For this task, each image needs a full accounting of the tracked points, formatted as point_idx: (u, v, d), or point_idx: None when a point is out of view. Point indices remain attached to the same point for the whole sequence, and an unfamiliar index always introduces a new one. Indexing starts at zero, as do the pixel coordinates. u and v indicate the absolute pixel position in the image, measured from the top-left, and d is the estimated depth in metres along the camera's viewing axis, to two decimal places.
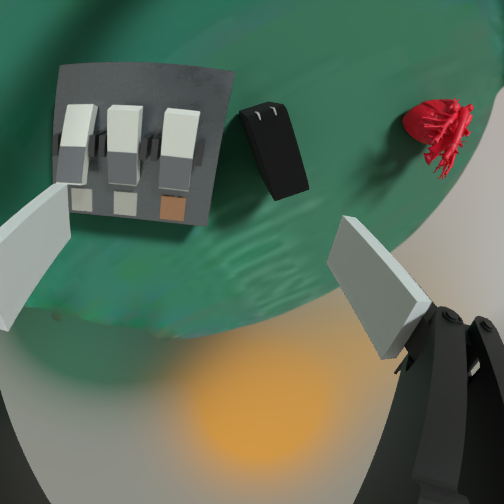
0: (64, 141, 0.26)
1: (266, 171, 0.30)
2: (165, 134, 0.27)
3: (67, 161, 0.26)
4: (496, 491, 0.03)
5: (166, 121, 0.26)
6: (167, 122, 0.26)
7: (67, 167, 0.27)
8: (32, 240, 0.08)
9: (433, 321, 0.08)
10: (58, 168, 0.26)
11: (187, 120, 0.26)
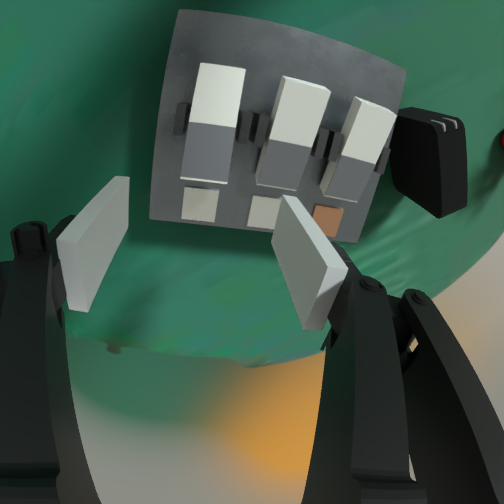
0: (197, 115, 0.19)
1: (441, 187, 0.23)
2: (355, 129, 0.20)
3: (203, 146, 0.20)
4: (465, 481, 0.03)
5: (360, 113, 0.19)
6: (361, 114, 0.20)
7: (204, 155, 0.20)
8: (107, 226, 0.10)
9: (350, 292, 0.08)
10: (186, 155, 0.20)
11: (384, 117, 0.20)
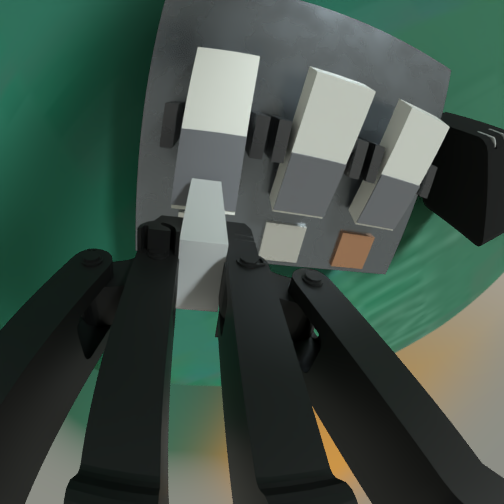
0: (192, 119, 0.14)
1: (486, 212, 0.18)
2: (401, 142, 0.15)
3: (201, 162, 0.15)
4: (413, 483, 0.04)
5: (409, 122, 0.14)
6: (410, 124, 0.14)
7: (202, 175, 0.15)
8: None
9: (227, 274, 0.08)
10: (178, 176, 0.14)
11: (435, 128, 0.14)
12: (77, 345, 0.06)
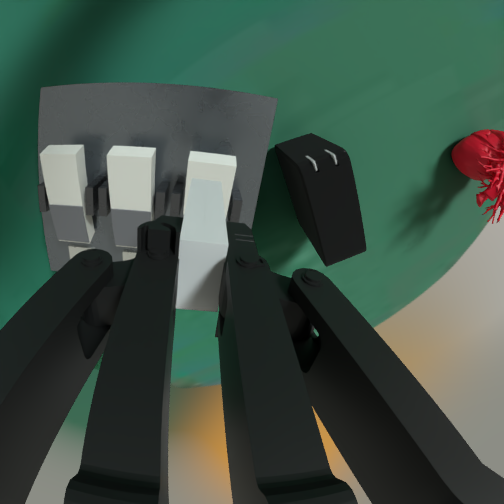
0: (52, 199, 0.20)
1: (320, 234, 0.24)
2: None
3: (64, 221, 0.22)
4: (413, 482, 0.04)
5: (190, 172, 0.20)
6: (192, 173, 0.20)
7: (67, 227, 0.22)
8: None
9: (227, 274, 0.08)
10: (56, 227, 0.22)
11: (220, 171, 0.20)
12: (77, 344, 0.06)
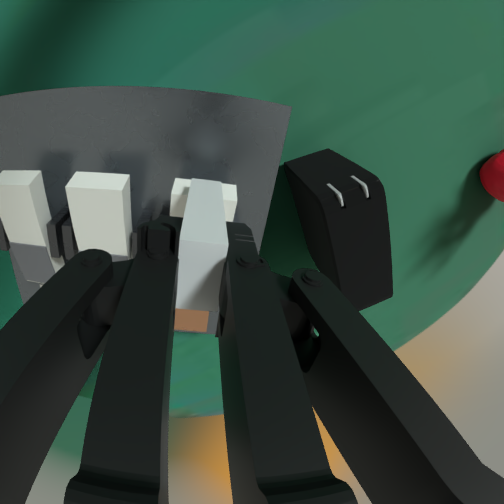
0: (12, 236, 0.15)
1: (340, 283, 0.19)
2: None
3: (29, 261, 0.17)
4: (414, 482, 0.04)
5: (175, 208, 0.15)
6: (177, 210, 0.15)
7: (33, 268, 0.17)
8: None
9: (227, 274, 0.08)
10: (21, 267, 0.17)
11: None
12: (76, 345, 0.06)
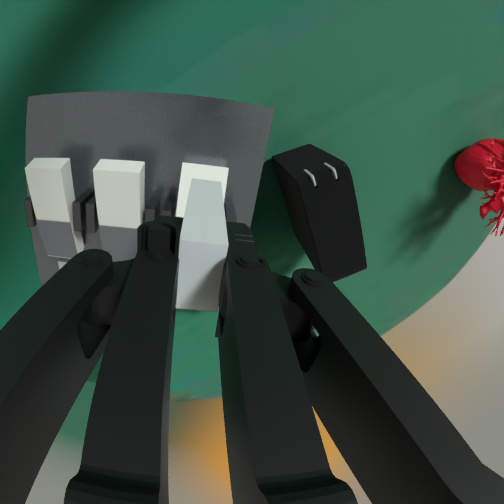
0: (39, 214, 0.19)
1: (318, 253, 0.23)
2: (182, 194, 0.21)
3: (52, 236, 0.20)
4: (413, 482, 0.04)
5: (184, 175, 0.21)
6: (185, 176, 0.21)
7: (55, 242, 0.21)
8: None
9: (227, 274, 0.08)
10: (44, 242, 0.21)
11: (213, 173, 0.21)
12: (77, 344, 0.06)
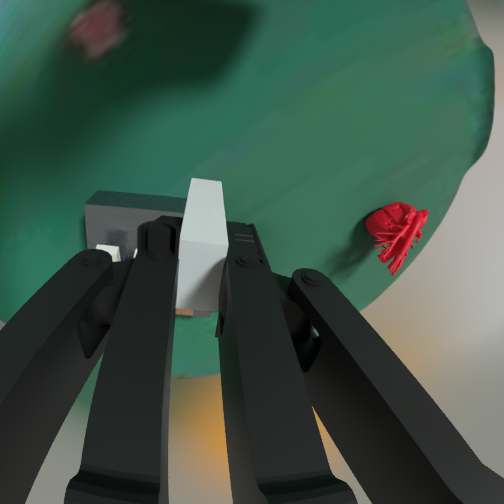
0: None
1: None
2: None
3: None
4: (414, 482, 0.04)
5: None
6: None
7: None
8: None
9: (227, 274, 0.08)
10: None
11: None
12: (77, 344, 0.06)
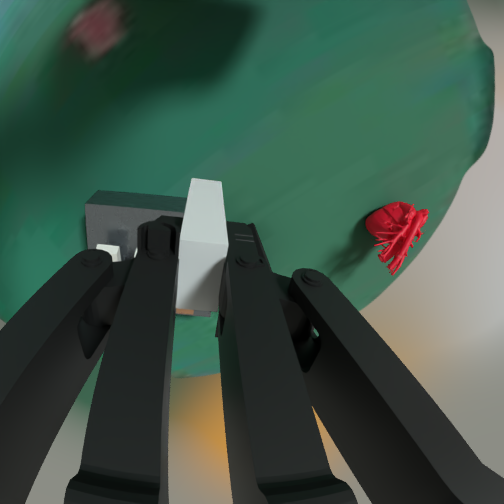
0: None
1: None
2: None
3: None
4: (413, 483, 0.04)
5: None
6: None
7: None
8: None
9: (227, 274, 0.08)
10: None
11: None
12: (77, 344, 0.06)
